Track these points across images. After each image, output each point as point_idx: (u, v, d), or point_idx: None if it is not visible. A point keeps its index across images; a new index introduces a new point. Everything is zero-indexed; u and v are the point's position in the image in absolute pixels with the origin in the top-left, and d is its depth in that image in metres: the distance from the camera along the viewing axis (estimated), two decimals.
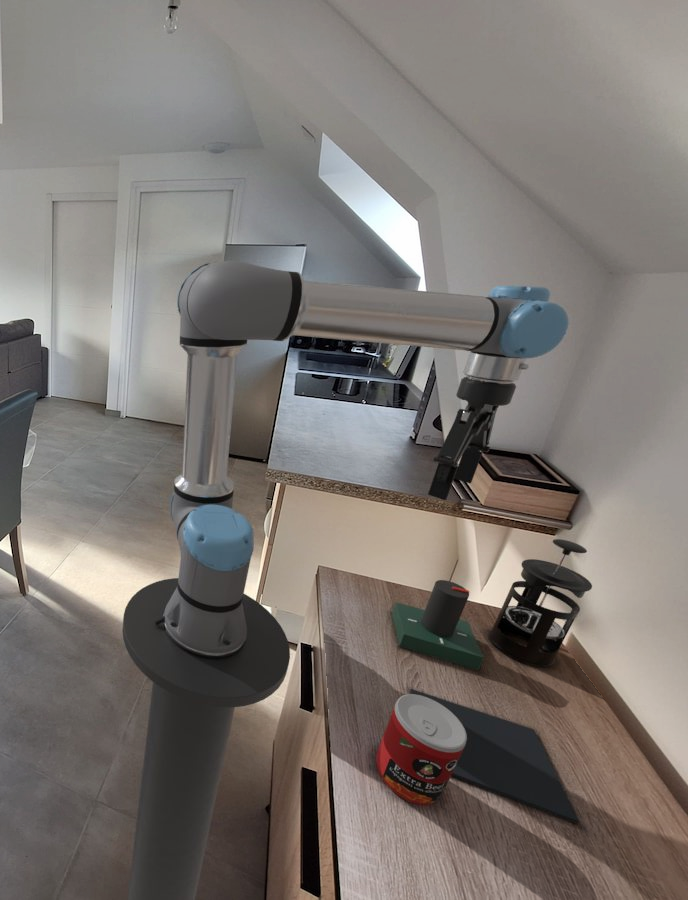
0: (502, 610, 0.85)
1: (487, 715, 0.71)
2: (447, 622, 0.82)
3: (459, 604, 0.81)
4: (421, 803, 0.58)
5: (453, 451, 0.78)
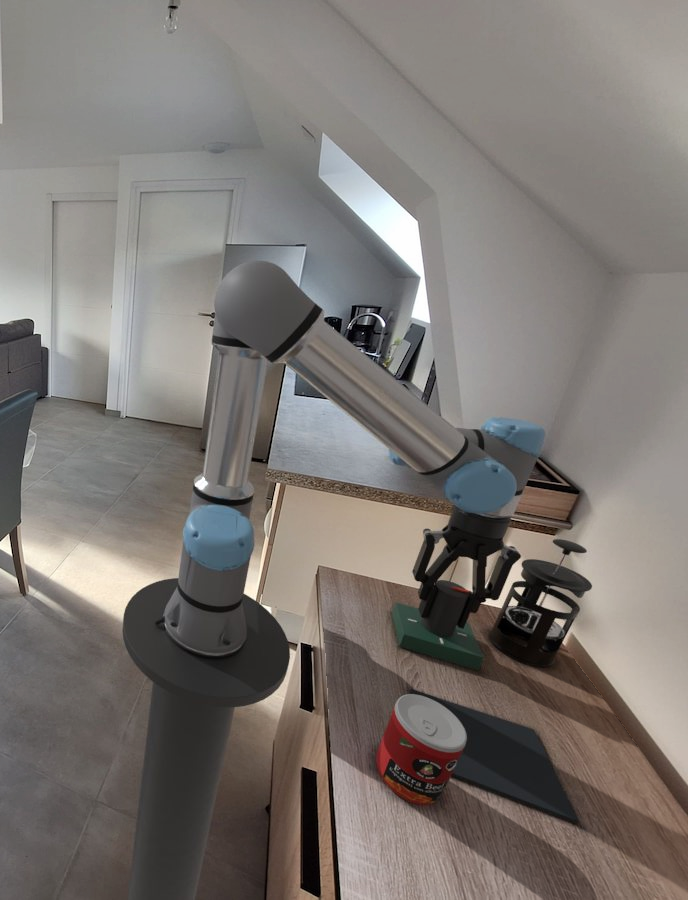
0: (501, 609, 0.85)
1: (487, 715, 0.71)
2: (447, 622, 0.82)
3: (459, 604, 0.81)
4: (421, 803, 0.58)
5: (417, 568, 0.83)
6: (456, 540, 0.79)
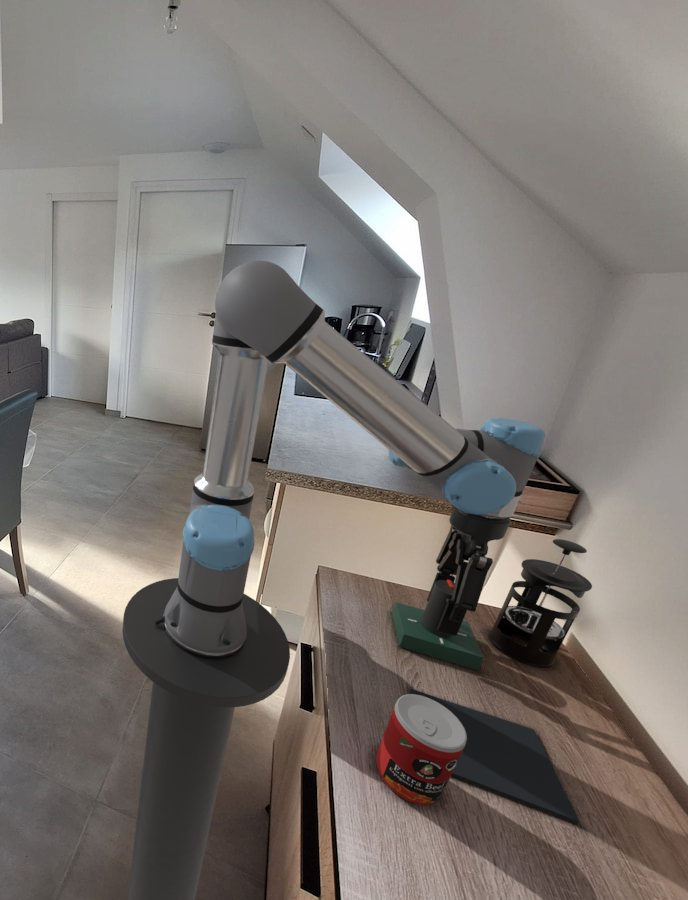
0: (501, 609, 0.85)
1: (487, 715, 0.71)
2: None
3: None
4: (421, 803, 0.58)
5: (474, 599, 0.75)
6: None
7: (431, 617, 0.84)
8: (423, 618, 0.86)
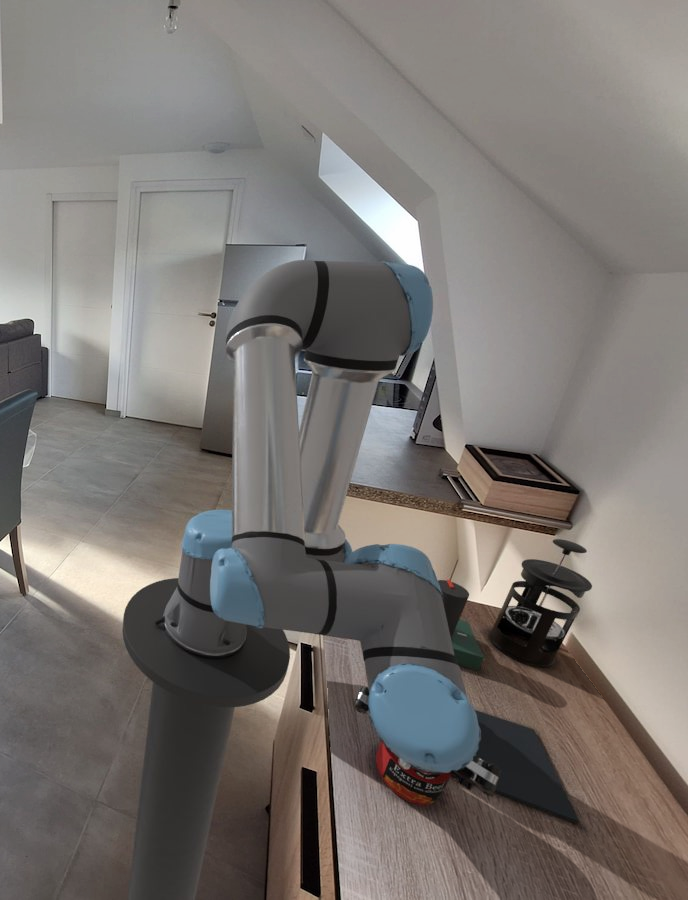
0: (501, 609, 0.85)
1: (487, 715, 0.71)
2: None
3: None
4: (421, 803, 0.58)
5: None
6: None
7: None
8: None
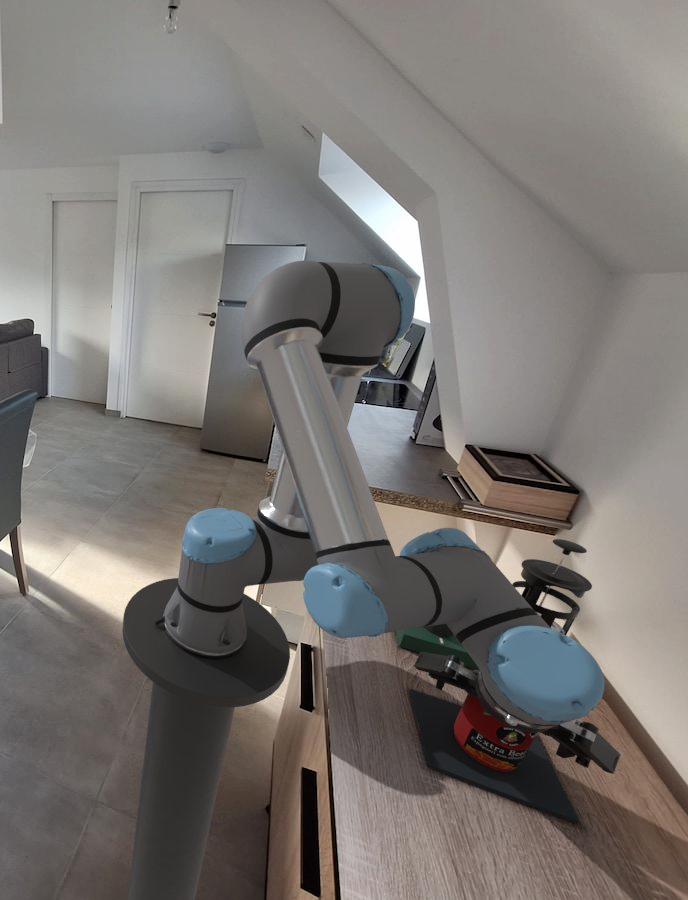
0: None
1: None
2: None
3: None
4: (503, 769, 0.62)
5: (422, 663, 0.65)
6: None
7: None
8: None
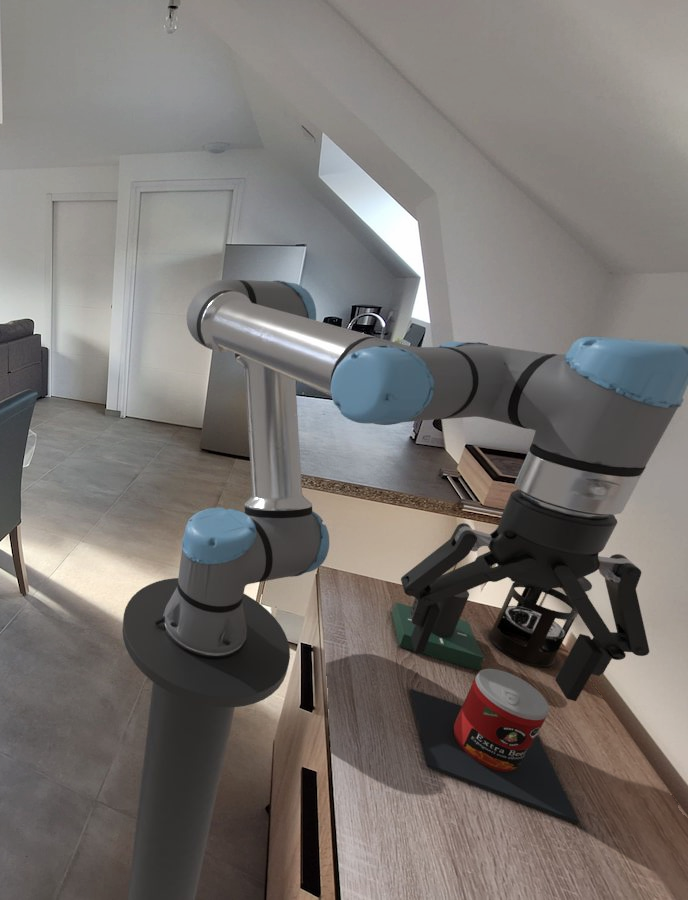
0: (501, 609, 0.85)
1: None
2: None
3: None
4: (503, 769, 0.62)
5: (416, 575, 0.51)
6: (513, 555, 0.46)
7: None
8: None
